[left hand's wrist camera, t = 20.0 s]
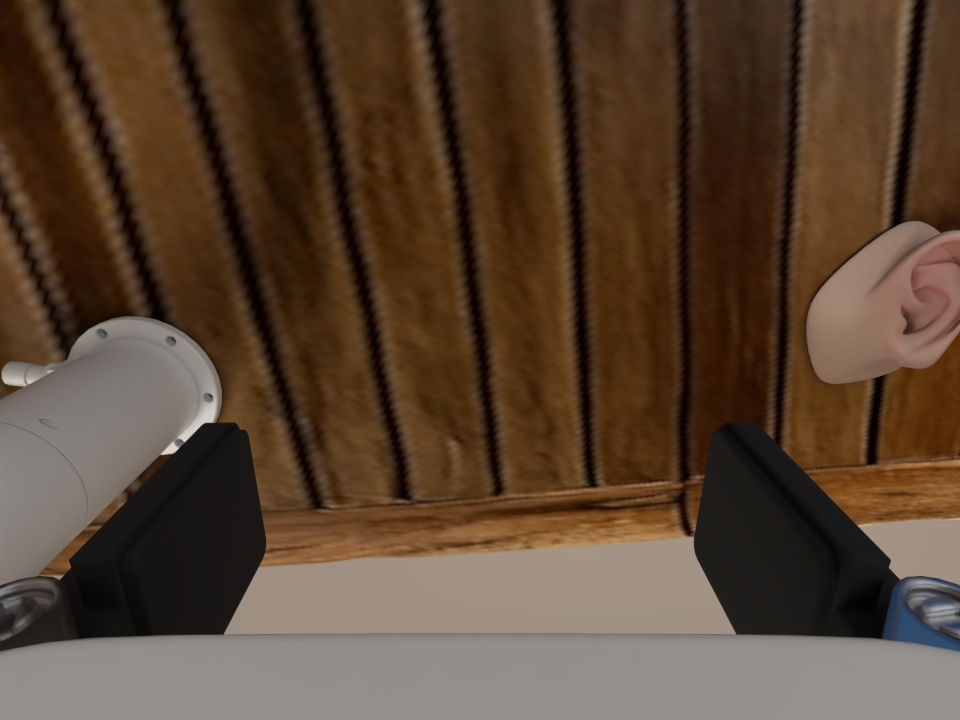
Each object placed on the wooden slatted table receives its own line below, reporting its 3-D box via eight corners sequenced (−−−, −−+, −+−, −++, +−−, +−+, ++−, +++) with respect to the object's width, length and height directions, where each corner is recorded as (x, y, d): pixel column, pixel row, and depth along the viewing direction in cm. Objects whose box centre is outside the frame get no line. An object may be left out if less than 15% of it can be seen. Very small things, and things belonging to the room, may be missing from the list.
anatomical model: (862, 426, 45) (799, 317, 42) (833, 404, 49) (773, 303, 46) (1029, 331, 42) (975, 206, 39) (984, 316, 46) (932, 200, 43)
